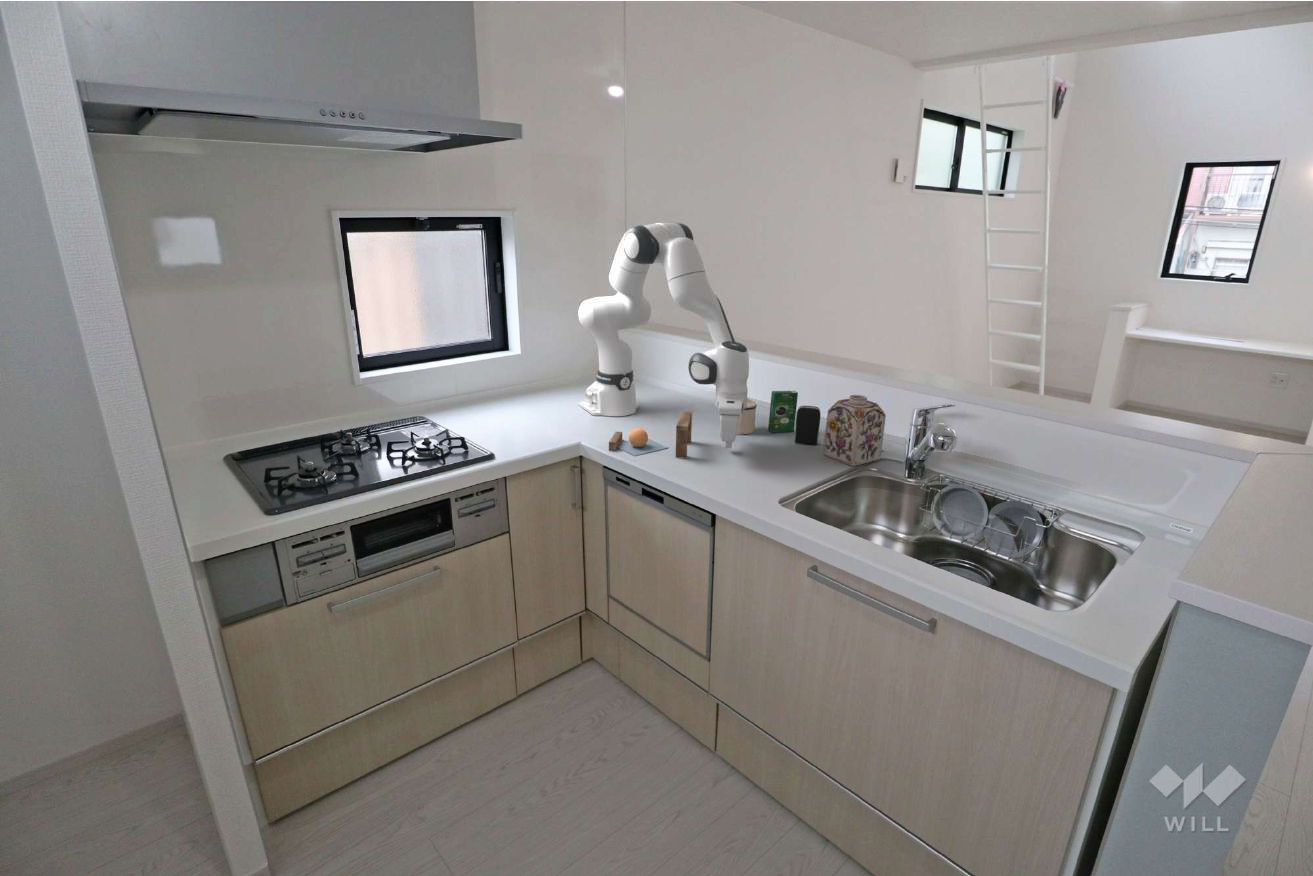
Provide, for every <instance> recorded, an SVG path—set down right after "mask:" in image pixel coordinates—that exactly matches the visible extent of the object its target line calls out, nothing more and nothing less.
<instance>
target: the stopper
mask: <svg viewBox="0 0 1313 876" xmlns="http://www.w3.org/2000/svg"><path fill="white" fill-rule="evenodd" d="M621 440H622V441H623V431H615V432H614V434H613V435H612V437H611V438H610V440H609V441H608V451H611V450H612V451H613V452H616V451H617V449H618V448H617V447H618V446H619V444H620V442H622V441H621ZM612 451H611V452H612Z"/></svg>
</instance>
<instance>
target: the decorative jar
mask: <svg viewBox="0 0 1313 876" xmlns="http://www.w3.org/2000/svg"><path fill="white" fill-rule="evenodd" d="M848 397H849V398H845V399H838V400H837V401H836V402H835V403H834V404H833V405H832V406H831V407H830V408H828V410H827V416H826V423H825V431H824V439H823V455H824V456H826V457H827V458H831V459H833V460H836V461H839V462H840V463H843V464H846V465H848V466H851V467H857V466H862V465H864V464H865V463H866V464H868V463H872V461H873V462H876V461H880V459H881V456H882V451H883V445H884V444H883V442H884V434H885V427H886V417H887V416H886V415H887V414H886V413H885V411H884V410H883V409H882V408H881V406H880V405H879V404H878V403H877V402H873V401H870V400H868V397H867V396H865V395H862V394H851V395H849V396H848Z"/></svg>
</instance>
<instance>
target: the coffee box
mask: <svg viewBox="0 0 1313 876" xmlns="http://www.w3.org/2000/svg"><path fill="white" fill-rule="evenodd" d="M798 397H799V392H797V391H796V390H772V391H771V396H770V404H769V405H770V406H769V416H768V428H767V430H768V431H767V432H769V431H770V432H771V433H772V434H774V433H773V432H777V433H794V432H795V427H796V415H797V407H798V406H797V405H798ZM770 432H769V433H770Z"/></svg>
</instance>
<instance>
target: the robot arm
mask: <svg viewBox="0 0 1313 876" xmlns="http://www.w3.org/2000/svg"><path fill="white" fill-rule="evenodd" d="M652 264H661V265H662V266H663V268H664V272H665V277H666V280H667V281H666V282H667V284H668V289H669V293H670V296H671V298H672V299H673V301H674V303H675V304H676V305H677V306H679V307H680V308H682V309H683V310H686V311H689V312H692V313H693V314H696V315H697V316H699V317H701V319H703V321H704V322H705V323H706V325H707V329H708V331H709V334H710V337H711V340H712V342H713V345H714V346H713V347H712V348H709V349H705V350H700V351H698V352H695V353H694V354H692V355H691V357H690V358H689V360H688V366H687V368H688V372H689V374H688V375H689V376H690V378H691V379H692V381H693V382H695V383H696V384H698V385H714V386H715V399H714V400H715V403H714V405H715V407H716V409H717V414H718V415H719V414H720V416H719V425H720V439H721V441H722V442H725V448H726V449H732V447H733V443H734V442H735V441H736V437H737V434H736V433H737V427H738V421H739V417H740V415H741V414H742V411H743V410H744V409H745V408H746V407H747V398H748V389H749V388H748V383H747V382H748V379H749V373H750V372H749V371H750V357H749V356H750V355H749V350H748V349H747V347H746V346H745V345H744V344H743V343H740V342H736V340H735V338H734V334H733V332H732V329H731V327H730V324H729V322H728V318H727V316H726V313H725V310H724V308H723V305H722V303H721V301H720V299H719V297H718V296H717V295H716V294H715V292H714V291H713V289H712V287H711V285H710V282H709V280H708V277H707V273H706V268H705V266H704V262H703V260H702V257H701V253H700V252H699V249H698V247H697V245H696V242H695V241H694V235H693V232H692V230H691V229H690V227H689V226H687V224H685V223H684V224H683V223H680V222H672V223H671V222H656V223H651V224H645V225H641V224H640V225H636V226H634V227H630V228H628V230H627V231H626V232H625V233H624V235H623V236H622V238H621V241H620V242H619V244H618V247H617V250H616V251H615V254H614V258H613V261H612V264H611V268H610V271H609V275H608V281H609V283H610V286H611V287H612V288H613V290H614V291H616V292H617V293H616V294H615V295H611V296H610V295H609V296H595V297H593V298H589V299H586V300H583V301H582V302H581V304H580V306H579V307H578V312H577V313H578V314H577V315H578V316H577V317H578V321H579V323H580V325H581V326H582V328H583V329H584V330H586V331H587V332H588V333H590V335H591V336H592V337H593V339H594V341H595V343H596V347H597V353H598V370H595V375H596V378H595V381H594V382H593V383H592V384H590V385H589V386H587V388H586V390H585V398H584V400H583V399H582V400H581V401H579V402H578V406H580V407H581V408H582V409H584V410H585V411H586V412H587V413H589V414H590V415H592V416H605V417H625V416H631V415H632V414H635V413H636V412H637V409H638V408H639V406H640V405H639V403H637V394H636V386H635V383H633V382H634V370H632V369H633V350H632V348H631V345H629V344H628V343H627V342H625V341H624V340H622V339H620V336H619V330H627V329H636V328H638V327H641V326H644V325H647V324H648V322H649V321H650V319H651V315H652V308H651V304H650V302H649V301H648V300H647V298H646V297H645V296H644V293H643V288H644V284H645V280H646V278H647V274H648V272H649V269H650V265H652Z"/></svg>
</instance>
